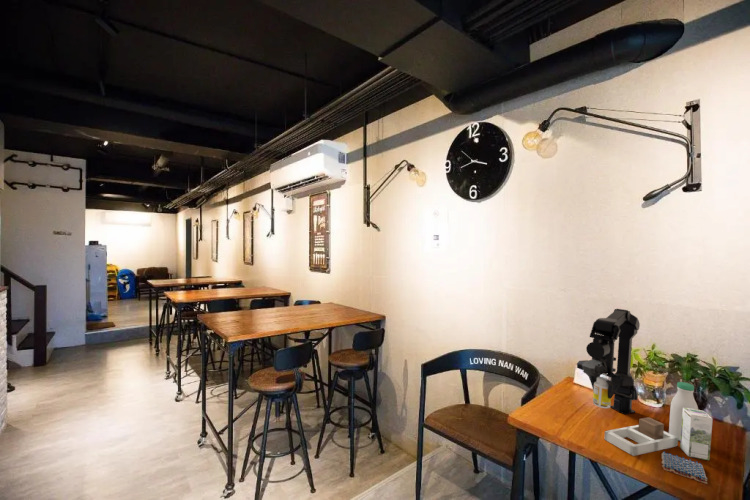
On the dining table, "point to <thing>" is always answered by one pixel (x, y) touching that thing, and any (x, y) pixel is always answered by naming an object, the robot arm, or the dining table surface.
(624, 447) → the grey divided tray
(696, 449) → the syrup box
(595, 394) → the supplement bottle
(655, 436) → the walnut block
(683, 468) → the woven mat
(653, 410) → the dining table surface
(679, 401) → the milk bottle
